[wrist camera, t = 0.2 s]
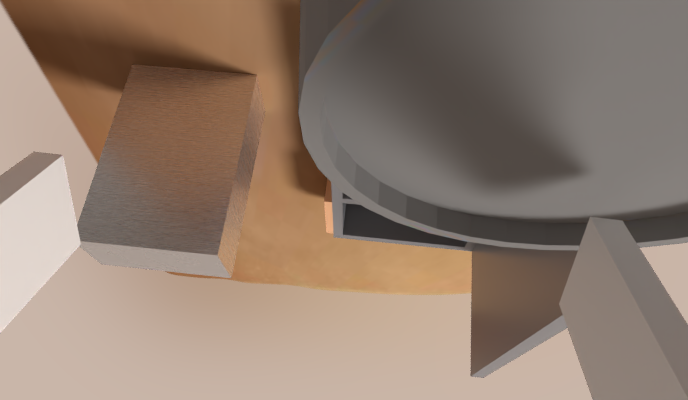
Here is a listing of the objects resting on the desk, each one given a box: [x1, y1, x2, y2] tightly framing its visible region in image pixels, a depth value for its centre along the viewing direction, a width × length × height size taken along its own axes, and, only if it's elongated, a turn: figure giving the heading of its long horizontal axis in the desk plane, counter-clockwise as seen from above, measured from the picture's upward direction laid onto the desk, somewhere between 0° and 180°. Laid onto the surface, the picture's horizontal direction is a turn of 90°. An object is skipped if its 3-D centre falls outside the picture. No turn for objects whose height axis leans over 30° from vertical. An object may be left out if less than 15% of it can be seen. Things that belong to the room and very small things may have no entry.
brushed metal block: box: [77, 64, 265, 278], centre depth 34 cm, size 4×8×12 cm, turn 90°
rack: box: [324, 178, 578, 378], centre depth 36 cm, size 23×14×14 cm, turn 0°
